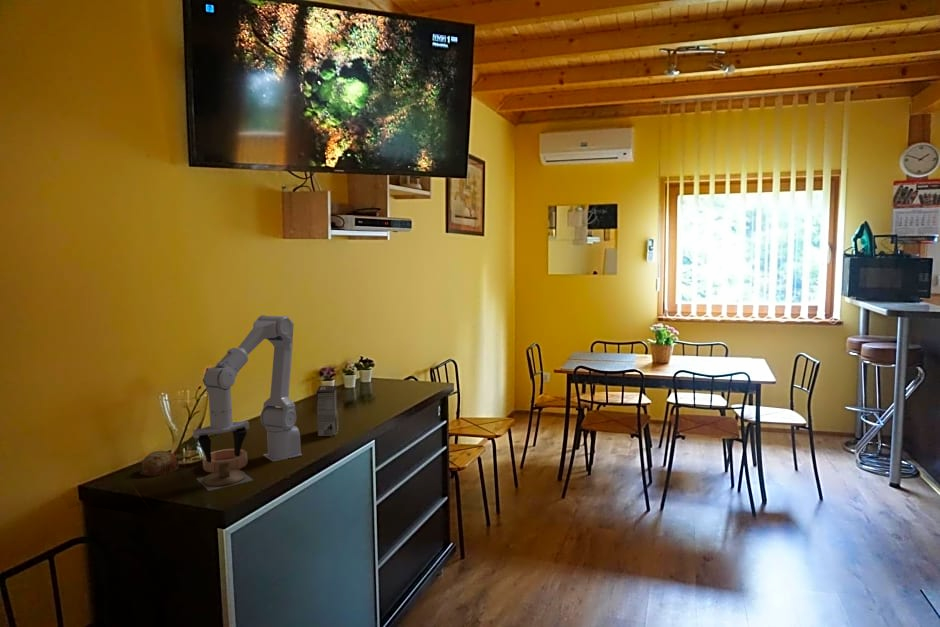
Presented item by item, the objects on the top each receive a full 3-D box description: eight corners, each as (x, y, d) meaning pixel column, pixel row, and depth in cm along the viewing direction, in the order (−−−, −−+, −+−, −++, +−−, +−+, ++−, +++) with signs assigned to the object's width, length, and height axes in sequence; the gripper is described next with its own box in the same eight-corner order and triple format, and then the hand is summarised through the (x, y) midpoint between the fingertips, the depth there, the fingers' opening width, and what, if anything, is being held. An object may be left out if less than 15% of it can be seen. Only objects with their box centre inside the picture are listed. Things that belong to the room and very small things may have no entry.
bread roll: (143, 481, 186) (129, 461, 183) (175, 459, 192) (162, 439, 189) (155, 490, 179) (140, 468, 176) (187, 467, 185) (174, 446, 182)
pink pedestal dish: (237, 469, 183) (237, 455, 183) (251, 480, 174) (250, 464, 174) (198, 478, 176) (197, 463, 176) (210, 489, 168) (209, 473, 167)
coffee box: (320, 430, 225) (318, 385, 223) (338, 429, 226) (337, 384, 224) (317, 437, 216) (315, 391, 214) (336, 436, 217) (334, 390, 215)
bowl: (239, 457, 196) (238, 446, 195) (252, 467, 186) (252, 455, 186) (198, 465, 188) (198, 454, 188) (210, 476, 179) (210, 464, 178)
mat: (239, 470, 184) (239, 468, 184) (253, 481, 174) (253, 480, 174) (196, 479, 176) (195, 478, 176) (208, 492, 167) (208, 490, 167)
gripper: (197, 417, 166) (199, 467, 167) (251, 408, 175) (254, 456, 176) (189, 412, 171) (192, 461, 173) (243, 404, 180) (245, 450, 182)
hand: (223, 458), depth 175 cm, fingers open, 7 cm apart
